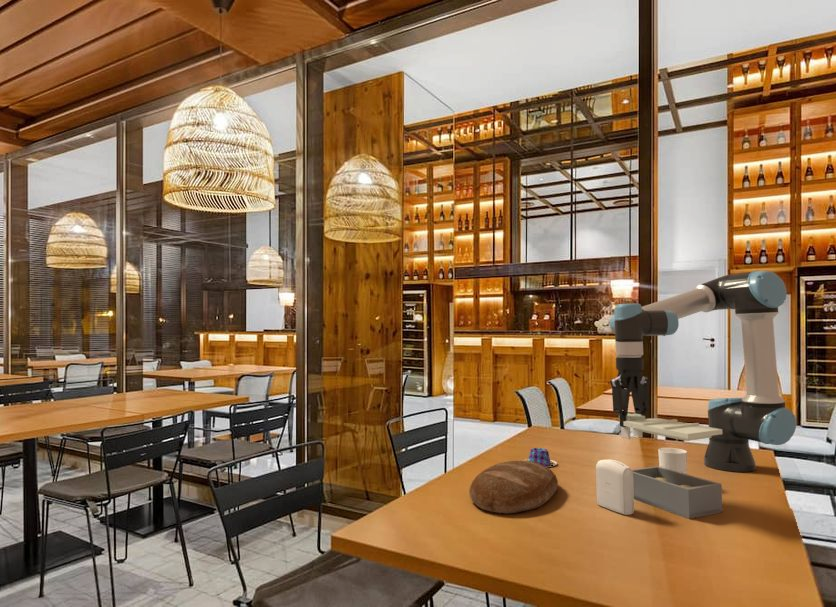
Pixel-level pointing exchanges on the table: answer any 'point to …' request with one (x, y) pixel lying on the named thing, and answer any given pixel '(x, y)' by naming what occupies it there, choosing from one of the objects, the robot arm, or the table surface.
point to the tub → (677, 492)
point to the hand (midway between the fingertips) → (631, 437)
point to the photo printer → (615, 486)
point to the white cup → (673, 459)
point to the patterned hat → (540, 456)
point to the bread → (513, 487)
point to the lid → (671, 428)
